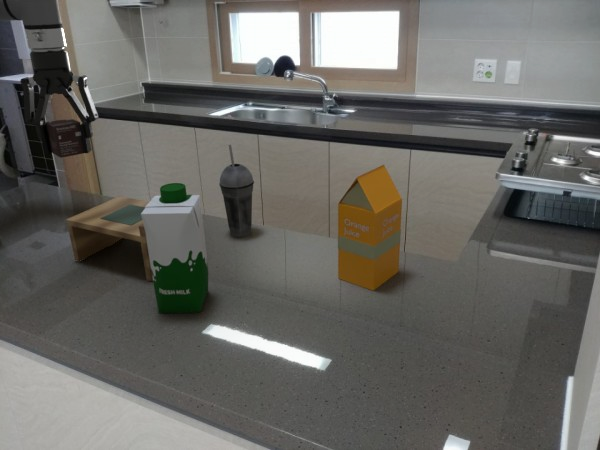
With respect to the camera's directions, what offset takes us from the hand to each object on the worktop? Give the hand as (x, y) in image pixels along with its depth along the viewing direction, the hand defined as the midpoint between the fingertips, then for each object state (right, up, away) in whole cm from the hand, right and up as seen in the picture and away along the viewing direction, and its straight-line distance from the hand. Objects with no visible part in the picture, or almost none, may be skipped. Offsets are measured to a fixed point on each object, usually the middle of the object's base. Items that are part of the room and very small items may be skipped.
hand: (68, 152), depth 124 cm
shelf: (+21, -23, -16) cm, 35 cm away
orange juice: (+66, -26, -26) cm, 76 cm away
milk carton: (+34, -30, -33) cm, 56 cm away
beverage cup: (+41, -19, -7) cm, 45 cm away
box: (0, 0, 0) cm, 0 cm away
